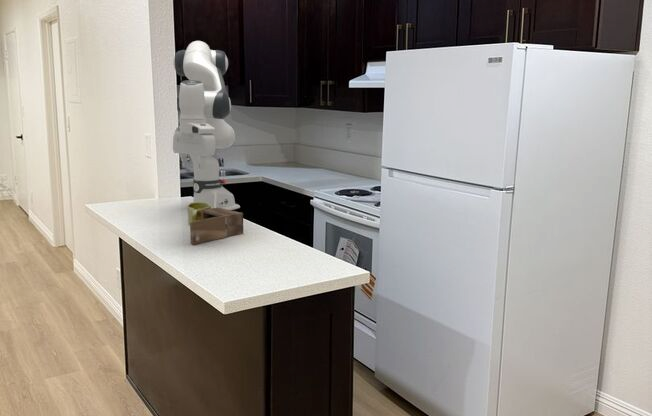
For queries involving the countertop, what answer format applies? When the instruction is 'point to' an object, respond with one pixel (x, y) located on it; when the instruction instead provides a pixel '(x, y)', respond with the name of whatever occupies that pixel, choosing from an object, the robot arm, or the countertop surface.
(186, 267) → the countertop surface
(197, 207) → the mug
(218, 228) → the door
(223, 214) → the cabinet
